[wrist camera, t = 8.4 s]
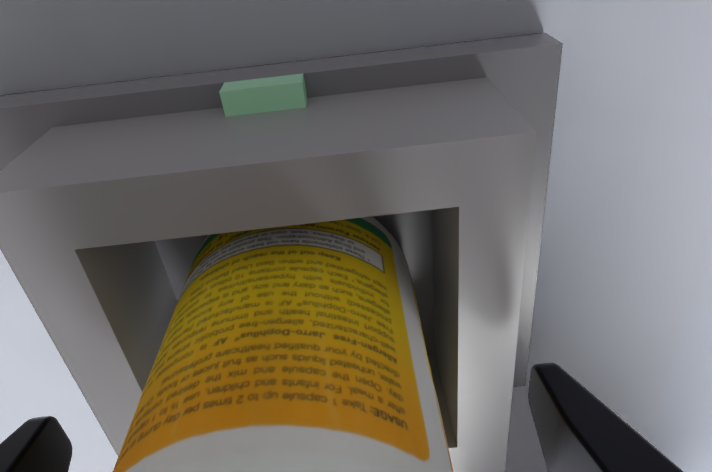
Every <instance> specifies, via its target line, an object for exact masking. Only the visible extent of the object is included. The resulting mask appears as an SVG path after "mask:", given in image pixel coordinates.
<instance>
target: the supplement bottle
mask: <svg viewBox="0 0 712 472" xmlns="http://www.w3.org/2000/svg"><path fill="white" fill-rule="evenodd" d="M113 472H453V467H452V462H451V457H450V453H449V448H448V444H447V439H446V435H445V430H444V426H443V422H442V417H441V413H440V408H439V403H438V399H437V395H436V391H435V386H434V382H433V378H432V373H431V368H430V364H429V360H428V355H427V350H426V345H425V340H424V335H423V330H422V325H421V320H420V316H419V311H418V306H417V301H416V296H415V291H414V287H413V283H412V278H411V275H410V271H409V268H408V264H407V261H406V258H405V256H404V254H403V252H402V250H401V249H400V247H399V245H398V243H397V242H396V240H395V239H394V238H393V236H392V235H391V234H390V233H389V232H388V231H387V230H386V229H385V228H384V227H383V226H382V225H381V224H380V223H379V222H378V221H377V220H376V219H375V218H374V217H363V218H354V219H345V220H336V221H327V222H318V223H309V224H300V225H291V226H282V227H273V228H264V229H255V230H246V231H237V232H228V233H219V234H210V235H207V237H206V238H205V240H204V241H203V243H202V244H201V246H200V248H199V250H198V252H197V254H196V257H195V259H194V261H193V263H192V266H191V268H190V271H189V274H188V276H187V279H186V281H185V284H184V286H183V289H182V292H181V295H180V297H179V300H178V302H177V305H176V307H175V310H174V313H173V316H172V318H171V321H170V323H169V326H168V328H167V331H166V333H165V336H164V339H163V342H162V344H161V347H160V350H159V352H158V355H157V357H156V360H155V363H154V365H153V367H152V370H151V372H150V375H149V377H148V380H147V382H146V385H145V387H144V390H143V393H142V395H141V398H140V401H139V403H138V406H137V409H136V412H135V414H134V417H133V419H132V422H131V425H130V427H129V430H128V432H127V435H126V438H125V440H124V443H123V446H122V448H121V451H120V454H119V457H118V459H117V462H116V465H115V468H114V470H113Z"/></svg>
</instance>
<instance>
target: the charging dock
mask: <svg viewBox="0 0 712 472" xmlns="http://www.w3.org/2000/svg"><path fill="white" fill-rule="evenodd" d="M562 45H563V43H561V42H559V41H558V40H556V39H554V38H553V37H551V36H549V35H548V34H546V33H539V34H530V35H521V36H513V37H504V38H496V39H487V40H478V41H470V42H461V43H452V44H444V45H435V46H426V47H418V48H409V49H400V50H392V51H383V52H374V53H366V54H357V55H349V56H340V57H331V58H323V59H314V60H305V61H297V62H288V63H279V64H271V65H262V66H253V67H245V68H236V69H227V70H219V71H210V72H201V73H193V74H184V75H176V76H167V77H158V78H150V79H141V80H132V81H124V82H115V83H106V84H98V85H89V86H80V87H72V88H63V89H54V90H46V91H37V92H28V93H20V94H11V95H3V96H0V249H1V251H2V253H3V254H4V256H5V258H6V260H7V261H8V263H9V265H10V267H11V269H12V270H13V272H14V274H15V276H16V277H17V279H18V281H19V283H20V284H21V286H22V288H23V290H24V291H25V293H26V295H27V297H28V299H29V300H30V302H31V304H32V306H33V307H34V309H35V311H36V313H37V314H38V316H39V318H40V320H41V321H42V323H43V325H44V327H45V328H46V330H47V332H48V334H49V336H50V337H51V339H52V341H53V343H54V344H55V346H56V348H57V350H58V351H59V353H60V355H61V357H62V358H63V360H64V362H65V364H66V366H67V367H68V369H69V371H70V373H71V374H72V376H73V378H74V380H75V381H76V383H77V385H78V387H79V388H80V390H81V392H82V394H83V396H84V397H85V399H86V401H87V403H88V404H89V406H90V408H91V410H92V411H93V413H94V415H95V417H96V418H97V420H98V422H99V424H100V425H101V427H102V429H103V431H104V433H105V434H106V436H107V438H108V440H109V441H110V443H111V445H112V447H113V448H114V450H115V452H116V454H117V455H118V457H119V454H120V451H121V448H122V446H123V443H124V440H125V438H126V435H127V432H128V430H129V427H130V425H131V422H132V419H133V417H134V414H135V412H136V409H137V406H138V403H139V401H140V398H141V395H142V393H143V390H144V387H145V385H146V382H147V380H148V377H149V375H150V372H151V370H152V367H153V365H154V363H155V360H156V357H157V355H158V352H159V350H160V347H161V344H162V342H163V339H164V336H165V333H166V331H167V328H168V326H169V323H170V321H171V318H172V316H173V313H174V310H175V307H176V305H177V302H178V300H179V297H180V295H181V292H182V289H183V286H184V284H185V281H186V279H187V276H188V274H189V271H190V268H191V266H192V263H193V261H194V259H195V257H196V254H197V252H198V250H199V248H200V246H201V244H202V243H203V241H204V240H205V238H206V237H207V235H210V234H219V233H228V232H237V231H246V230H255V229H264V228H273V227H282V226H291V225H300V224H309V223H318V222H327V221H336V220H345V219H354V218H363V217H374V218H375V219H376V220H377V221H378V222H379V223H380V224H381V225H382V226H383V227H384V228H385V229H386V230H387V231H388V232H389V233H390V234H391V235H392V236H393V238H394V239H395V240H396V242H397V243H398V245H399V247H400V249H401V250H402V252H403V254H404V256H405V258H406V261H407V264H408V268H409V271H410V275H411V278H412V283H413V287H414V291H415V296H416V301H417V306H418V311H419V316H420V320H421V325H422V330H423V335H424V340H425V345H426V350H427V355H428V360H429V364H430V368H431V373H432V378H433V382H434V386H435V391H436V395H437V399H438V403H439V408H440V413H441V417H442V422H443V426H444V430H445V435H446V439H447V444H448V448H449V453H450V457H451V462H452V467H453V472H505V468H506V457H507V446H508V435H509V424H510V413H511V402H512V391H513V387H517V386H525V383H526V374H527V365H528V356H529V347H530V337H531V328H532V319H533V310H534V301H535V292H536V283H537V273H538V264H539V255H540V246H541V237H542V228H543V218H544V209H545V200H546V191H547V182H548V173H549V164H550V154H551V145H552V136H553V127H554V118H555V109H556V100H557V90H558V81H559V72H560V63H561V54H562Z"/></svg>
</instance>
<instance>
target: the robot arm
mask: <svg viewBox="0 0 712 472" xmlns="http://www.w3.org/2000/svg"><path fill="white" fill-rule="evenodd" d="M528 399H529V405H530V409H531V413H532V416H533V420H534V423H535V427H536V430H537V434H538V437H539V441H540V444H541V448H542V451H543V455H544V458H545V462H546V465H547V469H548V472H683V471H682V470H681V469H680V468H678V467H677V466H676V465H675V464H674V463H673V462H671V461H670V460H669V459H668V458H667V457H665V456H664V455H663V454H662V453H661V452H660V451H658V450H657V449H656V448H655V447H654V446H653V445H651V444H650V443H649V442H648V441H647V440H645V439H644V438H643V437H642V436H641V435H640V434H638V433H637V432H636V431H635V430H634V429H633V428H631V427H630V426H629V425H628V424H627V423H625V422H624V421H623V420H622V419H621V418H620V417H618V416H617V415H616V414H615V413H614V412H612V411H611V410H610V409H609V408H608V407H607V406H605V405H604V404H603V403H602V402H601V401H600V400H598V399H597V398H596V397H595V396H594V395H592V394H591V393H590V392H589V391H588V390H587V389H585V388H584V387H583V386H582V385H581V384H579V383H578V382H577V381H576V380H575V379H574V378H572V377H571V376H570V375H569V374H568V373H567V372H565V371H564V370H563V369H562V368H561V367H559V366H558V365H557V364H554V363H545V364H536V365H534V366H533V367H532V369H531V375H530V384H529V392H528ZM71 457H72V445H71V442H70V440H69V438H68V437H67V435H66V433H65V432H64V430H63V429H62V427H61V425H60V424H59V422H58V421H57V419H56V418H54V417H52V416H47V417H38V418H32V419H29V420H28V421H26V422H25V423H24V424H23V425H21V426H20V427H19V428H18V429H17V430H16V431H15V432H13V433H12V434H11V435H10V436H9V437H8V438H7V439H5V440H4V441H3V442H2V443H1V444H0V472H68V470H69V466H70V461H71Z"/></svg>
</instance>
